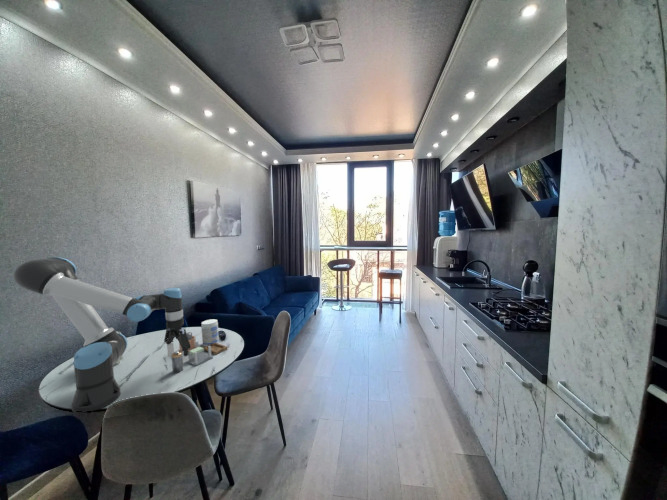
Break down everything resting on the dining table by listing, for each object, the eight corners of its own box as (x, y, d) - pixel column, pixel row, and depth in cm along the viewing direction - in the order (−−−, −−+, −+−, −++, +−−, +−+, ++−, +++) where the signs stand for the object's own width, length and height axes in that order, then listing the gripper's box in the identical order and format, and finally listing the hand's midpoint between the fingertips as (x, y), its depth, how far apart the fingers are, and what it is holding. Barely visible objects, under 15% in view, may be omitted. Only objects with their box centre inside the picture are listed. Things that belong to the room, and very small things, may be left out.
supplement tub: (215, 346, 157) (214, 323, 156) (200, 347, 156) (198, 324, 155) (221, 340, 167) (219, 318, 166) (206, 341, 166) (204, 319, 165)
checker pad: (193, 355, 138) (193, 352, 138) (189, 353, 140) (189, 350, 140) (203, 350, 143) (203, 348, 143) (199, 349, 145) (199, 346, 145)
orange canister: (185, 353, 148) (184, 337, 147) (177, 350, 152) (176, 334, 151) (198, 348, 155) (197, 332, 154) (190, 345, 159) (189, 330, 158)
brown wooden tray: (215, 354, 146) (215, 352, 146) (203, 350, 152) (202, 347, 152) (227, 349, 153) (227, 346, 153) (215, 344, 159) (214, 342, 159)
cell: (175, 374, 127) (174, 355, 126) (170, 371, 129) (169, 352, 129) (184, 369, 131) (183, 351, 130) (180, 367, 133) (178, 349, 133)
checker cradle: (195, 366, 134) (194, 353, 134) (181, 359, 141) (180, 347, 141) (212, 358, 143) (212, 346, 142) (198, 352, 150) (197, 340, 149)
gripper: (196, 320, 125) (199, 360, 127) (169, 312, 138) (172, 350, 139) (180, 325, 119) (184, 368, 120) (154, 317, 131) (157, 356, 133)
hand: (178, 358), depth 130 cm, fingers open, 13 cm apart
